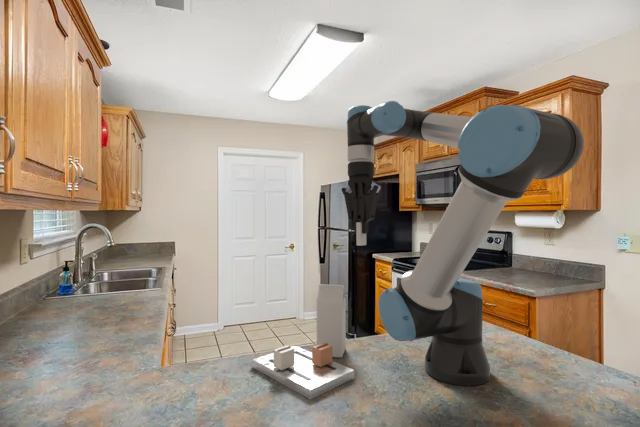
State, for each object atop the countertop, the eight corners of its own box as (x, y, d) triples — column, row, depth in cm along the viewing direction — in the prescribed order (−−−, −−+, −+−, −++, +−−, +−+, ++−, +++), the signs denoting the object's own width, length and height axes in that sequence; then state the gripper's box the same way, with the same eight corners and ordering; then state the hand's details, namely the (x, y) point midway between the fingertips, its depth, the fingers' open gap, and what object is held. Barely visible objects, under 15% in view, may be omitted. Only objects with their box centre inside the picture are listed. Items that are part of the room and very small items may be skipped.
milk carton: (342, 358, 98) (342, 288, 98) (316, 356, 99) (316, 286, 99) (345, 348, 105) (345, 282, 105) (321, 346, 106) (321, 282, 106)
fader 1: (294, 365, 88) (294, 347, 88) (281, 370, 85) (281, 352, 85) (286, 361, 90) (286, 344, 90) (273, 366, 87) (273, 348, 87)
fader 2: (332, 362, 90) (332, 344, 90) (320, 366, 87) (320, 348, 87) (323, 358, 92) (323, 341, 92) (312, 363, 89) (312, 345, 89)
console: (354, 378, 86) (354, 369, 86) (310, 399, 76) (310, 389, 76) (295, 352, 102) (294, 345, 102) (252, 367, 92) (252, 359, 92)
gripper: (387, 161, 102) (388, 245, 101) (351, 165, 111) (352, 243, 111) (371, 158, 96) (372, 247, 96) (335, 163, 105) (335, 244, 105)
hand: (361, 245), depth 103 cm, fingers closed
